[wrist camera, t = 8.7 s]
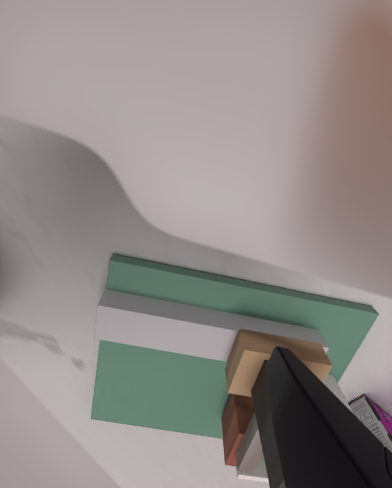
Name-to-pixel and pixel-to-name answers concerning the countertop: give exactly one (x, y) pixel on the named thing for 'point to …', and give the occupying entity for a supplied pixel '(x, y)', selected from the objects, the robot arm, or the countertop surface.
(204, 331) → the board
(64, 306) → the countertop surface
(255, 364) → the multicolored block structure
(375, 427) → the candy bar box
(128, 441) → the countertop surface
